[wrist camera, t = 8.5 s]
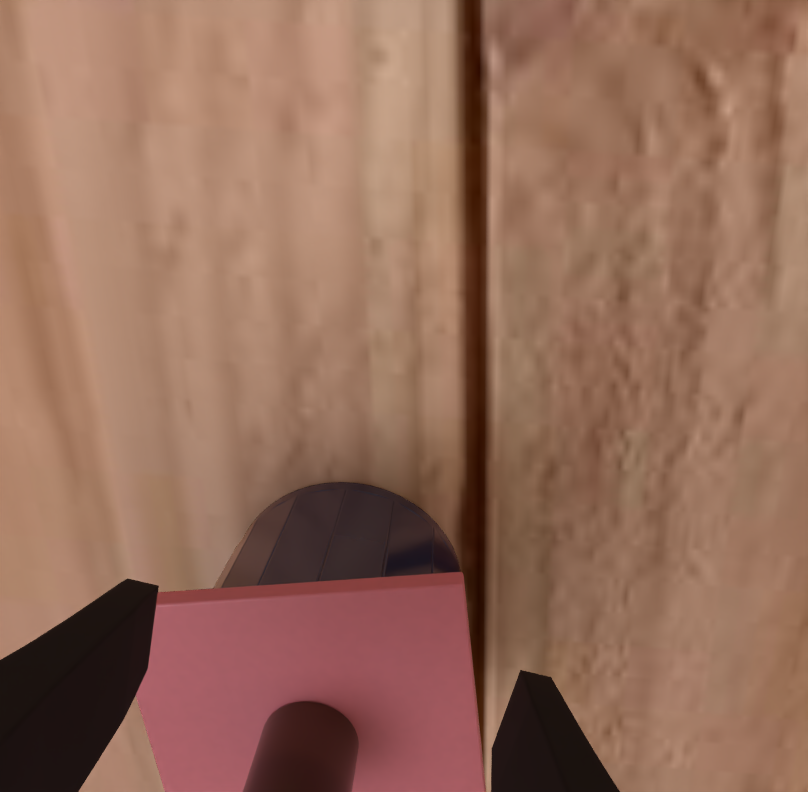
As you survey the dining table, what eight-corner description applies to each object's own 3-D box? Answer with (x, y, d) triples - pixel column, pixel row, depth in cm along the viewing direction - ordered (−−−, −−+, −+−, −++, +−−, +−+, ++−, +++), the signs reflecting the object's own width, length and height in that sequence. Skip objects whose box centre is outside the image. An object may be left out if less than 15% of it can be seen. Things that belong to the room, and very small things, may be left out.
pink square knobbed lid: (490, 836, 20) (502, 1006, 16) (193, 845, 20) (132, 1009, 16) (463, 569, 17) (468, 696, 13) (118, 593, 18) (23, 719, 14)
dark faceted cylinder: (430, 698, 26) (426, 861, 20) (220, 649, 26) (151, 799, 20) (489, 513, 23) (505, 636, 17) (254, 457, 23) (185, 561, 17)
